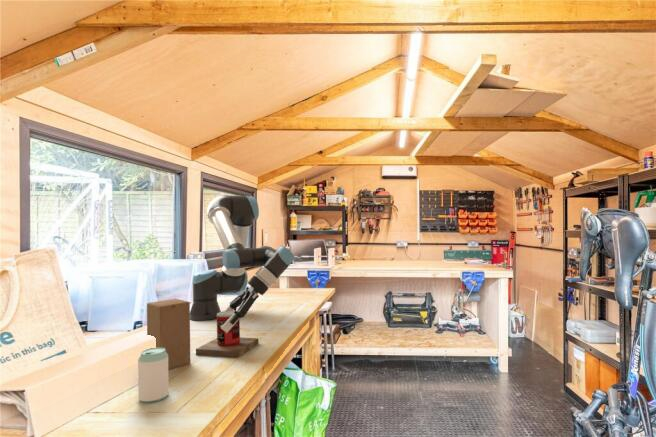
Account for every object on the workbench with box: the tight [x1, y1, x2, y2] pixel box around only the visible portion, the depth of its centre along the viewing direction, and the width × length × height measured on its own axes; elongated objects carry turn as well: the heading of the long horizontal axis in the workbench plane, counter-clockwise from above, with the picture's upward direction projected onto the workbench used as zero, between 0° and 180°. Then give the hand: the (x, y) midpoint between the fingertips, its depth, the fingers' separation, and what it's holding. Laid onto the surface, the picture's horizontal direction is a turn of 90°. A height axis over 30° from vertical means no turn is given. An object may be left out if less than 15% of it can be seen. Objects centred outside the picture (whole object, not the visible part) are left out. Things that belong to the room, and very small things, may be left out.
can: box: [137, 348, 170, 404], centre depth 96 cm, size 7×7×12 cm
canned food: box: [216, 310, 241, 346], centre depth 135 cm, size 8×8×11 cm
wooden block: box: [146, 298, 191, 370], centre depth 121 cm, size 10×10×20 cm
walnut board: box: [195, 336, 259, 359], centre depth 135 cm, size 16×16×2 cm
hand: (221, 326), depth 135 cm, fingers open, 13 cm apart
